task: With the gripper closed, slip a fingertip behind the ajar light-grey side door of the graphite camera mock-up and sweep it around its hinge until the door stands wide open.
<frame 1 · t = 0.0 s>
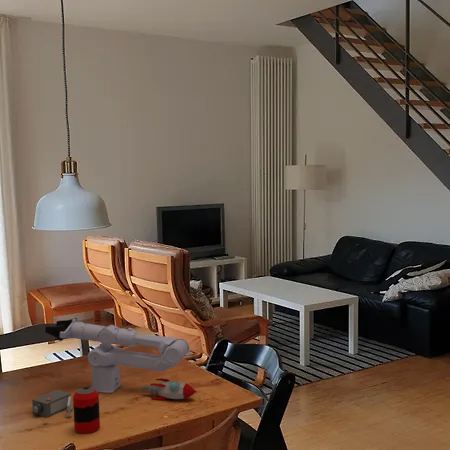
hand: (51, 326, 224), 22 cm above the table, tool horizontal, fingers open, 7 cm apart
soda can: (87, 429, 189), on the table
toy: (167, 399, 212), on the table
side door: (70, 405, 201), point 2 cm above the table, hinge at 45.0°
cam body: (52, 409, 204), on the table
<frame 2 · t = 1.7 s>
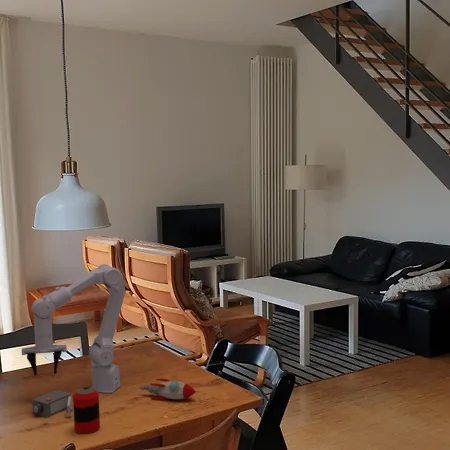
hand: (45, 373, 211), 9 cm above the table, tool pointing down, fingers open, 6 cm apart
nothing on the table moved.
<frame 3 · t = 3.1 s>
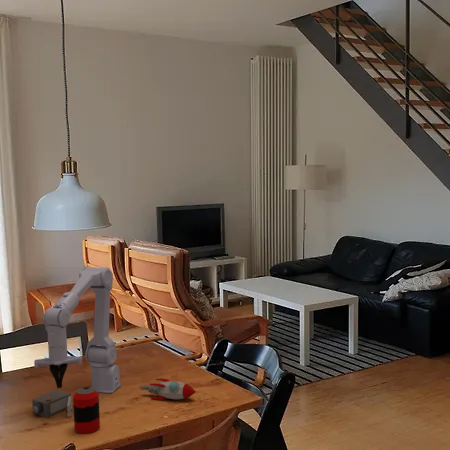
hand: (59, 386, 198), 9 cm above the table, tool pointing down, fingers closed
nothing on the table moved.
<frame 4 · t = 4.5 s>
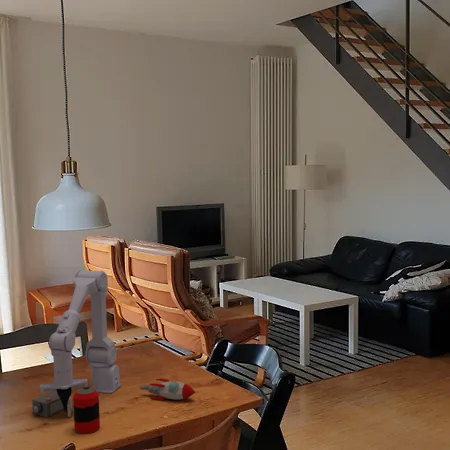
hand: (65, 410, 199), 2 cm above the table, tool pointing down, fingers closed, pressing on side door
side door: (70, 405, 201), point 2 cm above the table, hinge at 45.5°, touching gripper
everything else where it was.
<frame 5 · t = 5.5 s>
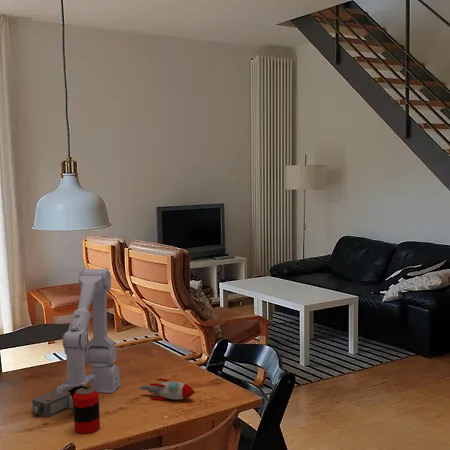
hand: (77, 408, 200), 2 cm above the table, tool pointing down, fingers closed, pressing on side door
side door: (77, 404, 202), point 2 cm above the table, hinge at 80.1°, touching gripper
everything else where it was.
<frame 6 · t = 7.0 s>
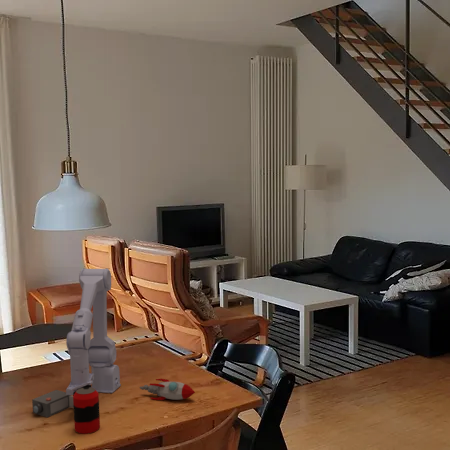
hand: (81, 408, 200), 2 cm above the table, tool pointing down, fingers closed
side door: (81, 402, 204), point 2 cm above the table, hinge at 111.1°
everything else where it was.
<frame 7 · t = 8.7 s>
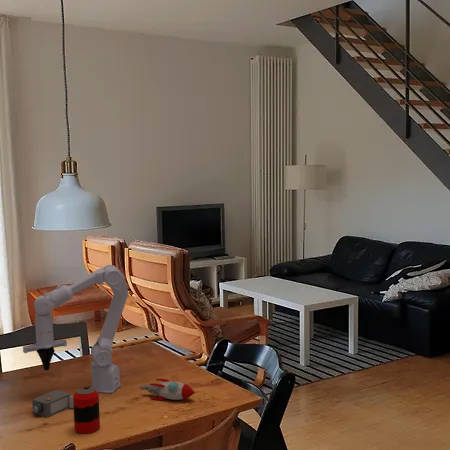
hand: (46, 369, 215), 9 cm above the table, tool pointing down, fingers closed
nothing on the table moved.
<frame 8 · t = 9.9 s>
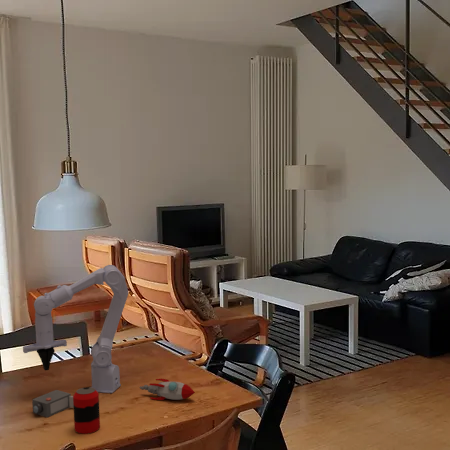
hand: (46, 369, 215), 9 cm above the table, tool pointing down, fingers closed
nothing on the table moved.
at the end: side door at +111° (first picture: +45°) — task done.
